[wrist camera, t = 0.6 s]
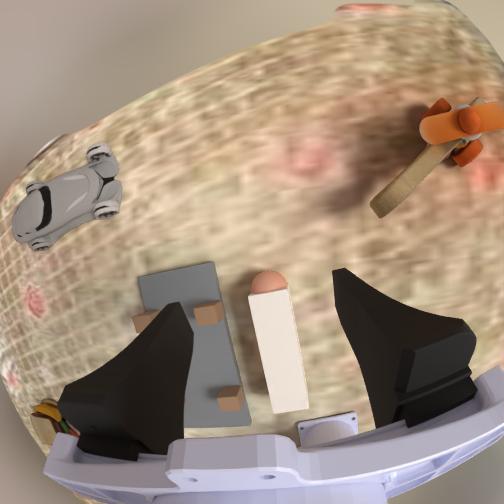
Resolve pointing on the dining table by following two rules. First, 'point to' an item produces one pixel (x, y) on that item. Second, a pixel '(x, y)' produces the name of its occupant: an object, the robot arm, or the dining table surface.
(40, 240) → the car model
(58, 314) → the dining table surface
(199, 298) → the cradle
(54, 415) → the toy sandwich meal
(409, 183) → the toy helicopter
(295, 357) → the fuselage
